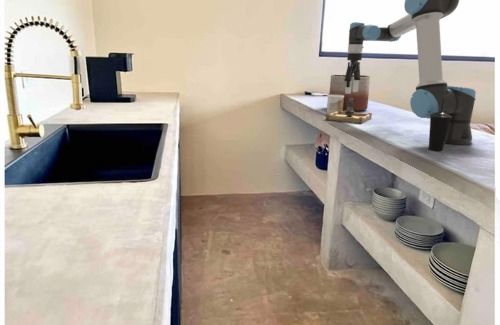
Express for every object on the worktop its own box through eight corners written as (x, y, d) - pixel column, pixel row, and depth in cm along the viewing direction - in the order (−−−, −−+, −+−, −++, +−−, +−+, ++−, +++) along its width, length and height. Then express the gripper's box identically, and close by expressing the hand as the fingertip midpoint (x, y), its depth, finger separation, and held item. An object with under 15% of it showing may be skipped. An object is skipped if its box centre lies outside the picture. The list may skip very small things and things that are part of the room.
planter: (361, 113, 231) (364, 77, 224) (322, 109, 243) (324, 75, 237) (371, 108, 252) (374, 75, 245) (335, 105, 264) (337, 74, 258)
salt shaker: (353, 118, 206) (355, 97, 203) (343, 117, 208) (344, 96, 205) (354, 117, 211) (357, 95, 208) (344, 116, 213) (346, 95, 210)
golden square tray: (361, 123, 197) (362, 117, 196) (325, 119, 207) (326, 114, 206) (371, 118, 213) (371, 113, 212) (337, 115, 223) (338, 109, 222)
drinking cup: (423, 150, 144) (430, 98, 138) (426, 146, 150) (434, 96, 144) (444, 153, 140) (453, 100, 134) (447, 149, 146) (456, 98, 140)
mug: (322, 113, 231) (323, 95, 228) (334, 111, 238) (335, 93, 235) (336, 115, 223) (338, 96, 220) (347, 113, 231) (349, 95, 228)
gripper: (354, 52, 188) (351, 94, 193) (368, 53, 208) (364, 91, 214) (340, 52, 191) (337, 93, 197) (354, 53, 212) (351, 90, 217)
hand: (351, 92), depth 205 cm, fingers open, 13 cm apart
